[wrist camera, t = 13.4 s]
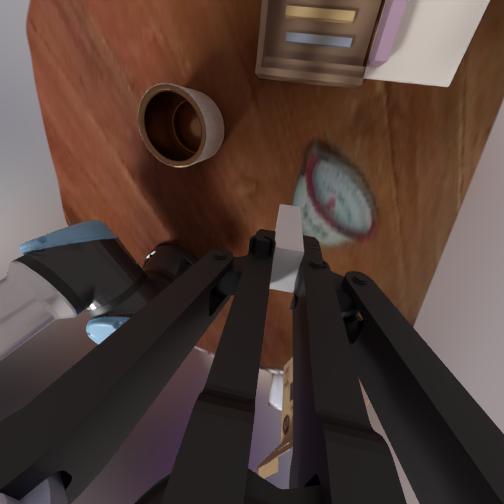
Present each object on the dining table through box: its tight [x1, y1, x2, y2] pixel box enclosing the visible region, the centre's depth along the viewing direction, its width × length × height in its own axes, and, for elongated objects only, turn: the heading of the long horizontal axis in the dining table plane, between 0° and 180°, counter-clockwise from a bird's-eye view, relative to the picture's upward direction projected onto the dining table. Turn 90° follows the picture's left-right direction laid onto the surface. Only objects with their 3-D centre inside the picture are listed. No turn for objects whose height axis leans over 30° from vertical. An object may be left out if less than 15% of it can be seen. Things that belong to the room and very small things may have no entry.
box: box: [253, 357, 293, 479], centre depth 55 cm, size 21×20×30 cm
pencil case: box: [255, 0, 382, 89], centre depth 28 cm, size 15×12×4 cm
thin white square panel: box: [363, 0, 490, 87], centre depth 27 cm, size 12×10×4 cm
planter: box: [138, 83, 225, 168], centre depth 35 cm, size 11×11×10 cm
